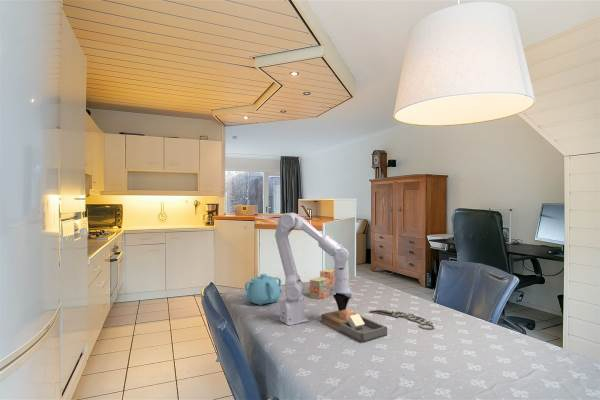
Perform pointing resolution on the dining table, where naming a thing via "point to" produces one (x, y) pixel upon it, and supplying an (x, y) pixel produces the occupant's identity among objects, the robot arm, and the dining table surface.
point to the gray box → (365, 331)
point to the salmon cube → (346, 314)
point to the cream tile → (355, 321)
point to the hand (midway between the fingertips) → (342, 312)
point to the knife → (409, 317)
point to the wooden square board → (334, 320)
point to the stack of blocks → (322, 284)
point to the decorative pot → (263, 289)
